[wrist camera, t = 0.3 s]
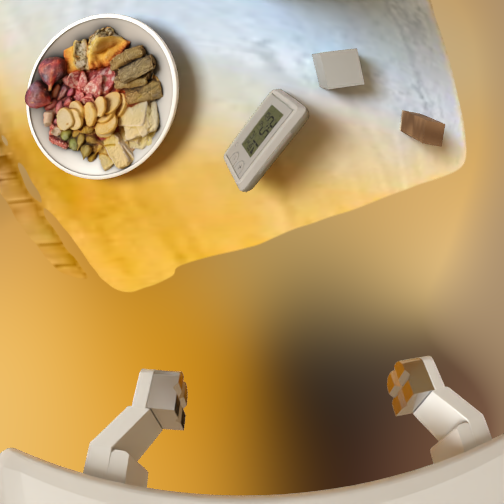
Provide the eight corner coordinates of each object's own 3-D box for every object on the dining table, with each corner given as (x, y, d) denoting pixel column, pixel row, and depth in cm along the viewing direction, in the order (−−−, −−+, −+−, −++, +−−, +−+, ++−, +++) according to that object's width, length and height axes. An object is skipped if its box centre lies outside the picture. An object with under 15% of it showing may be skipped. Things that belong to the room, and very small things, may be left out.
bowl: (202, 24, 39) (194, 17, 33) (166, 182, 56) (156, 200, 49) (52, 19, 34) (29, 18, 28) (37, 160, 51) (16, 174, 44)
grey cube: (311, 54, 43) (319, 53, 38) (345, 49, 42) (356, 48, 37) (319, 86, 46) (328, 89, 41) (352, 81, 45) (364, 84, 40)
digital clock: (279, 83, 46) (287, 87, 37) (314, 121, 49) (329, 134, 41) (210, 145, 52) (202, 163, 43) (245, 178, 55) (246, 203, 47)
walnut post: (402, 110, 47) (426, 120, 40) (419, 113, 47) (445, 124, 40) (399, 130, 50) (422, 143, 42) (416, 132, 50) (441, 146, 42)
